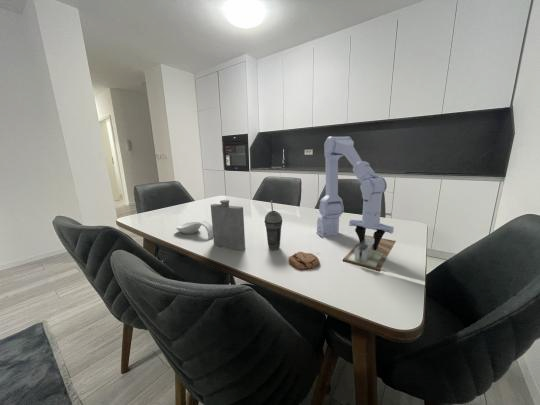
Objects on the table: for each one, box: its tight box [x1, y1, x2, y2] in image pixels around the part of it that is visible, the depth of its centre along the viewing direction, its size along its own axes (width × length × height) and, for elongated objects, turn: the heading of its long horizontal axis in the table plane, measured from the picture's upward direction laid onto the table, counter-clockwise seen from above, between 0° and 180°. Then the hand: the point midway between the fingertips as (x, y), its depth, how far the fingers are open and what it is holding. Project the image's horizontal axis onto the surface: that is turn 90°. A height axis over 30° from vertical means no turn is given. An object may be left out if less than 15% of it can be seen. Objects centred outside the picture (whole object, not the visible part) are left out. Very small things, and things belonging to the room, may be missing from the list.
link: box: [355, 237, 376, 263], centre depth 78 cm, size 11×4×4 cm, turn 139°
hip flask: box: [210, 199, 246, 251], centre depth 91 cm, size 16×4×20 cm, turn 61°
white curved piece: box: [175, 220, 213, 240], centre depth 110 cm, size 24×12×7 cm, turn 57°
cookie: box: [288, 251, 320, 271], centre depth 78 cm, size 10×11×3 cm
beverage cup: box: [264, 199, 283, 251], centre depth 89 cm, size 7×7×20 cm
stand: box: [342, 233, 397, 273], centre depth 84 cm, size 28×12×6 cm, turn 142°
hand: (368, 247), depth 81 cm, fingers closed on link, 4 cm apart
